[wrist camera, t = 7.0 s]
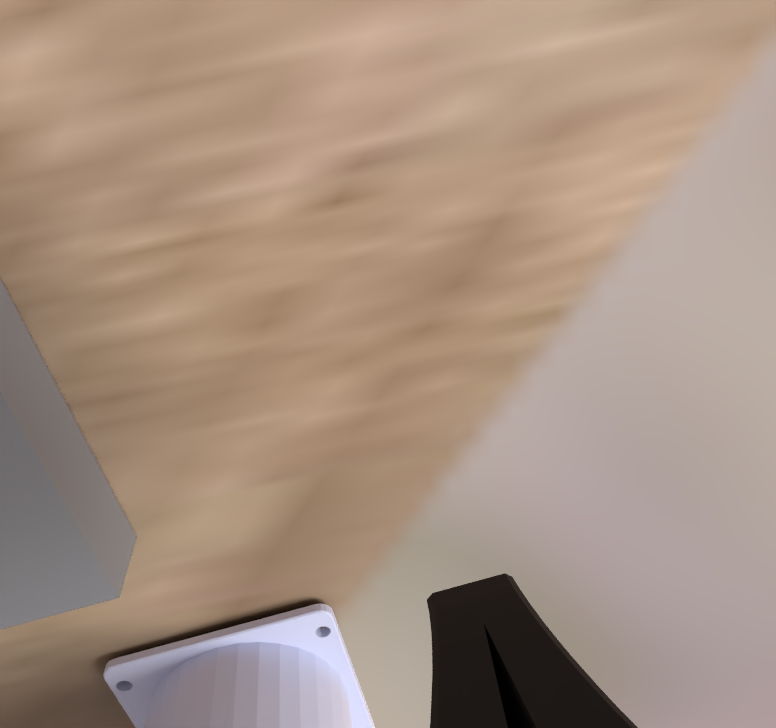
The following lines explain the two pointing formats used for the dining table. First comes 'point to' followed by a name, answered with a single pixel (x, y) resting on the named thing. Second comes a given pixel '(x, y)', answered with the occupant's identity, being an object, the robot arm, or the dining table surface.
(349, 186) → the dining table surface
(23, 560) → the board
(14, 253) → the dining table surface
